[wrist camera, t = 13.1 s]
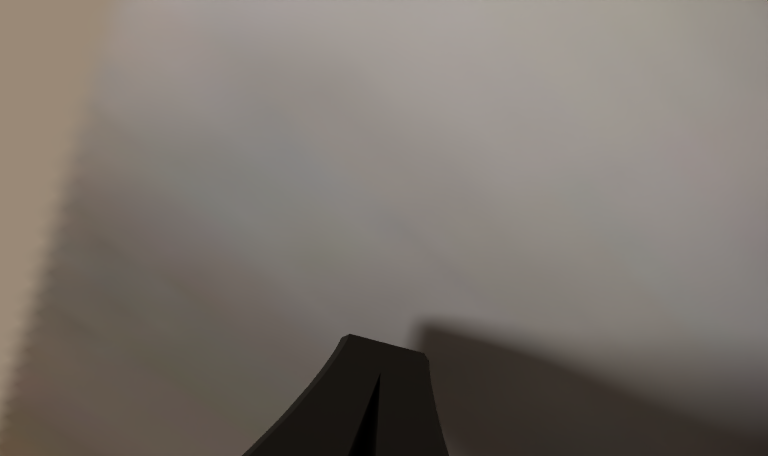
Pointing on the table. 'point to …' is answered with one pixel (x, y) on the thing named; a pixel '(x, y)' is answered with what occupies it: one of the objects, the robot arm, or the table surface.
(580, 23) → the table surface
